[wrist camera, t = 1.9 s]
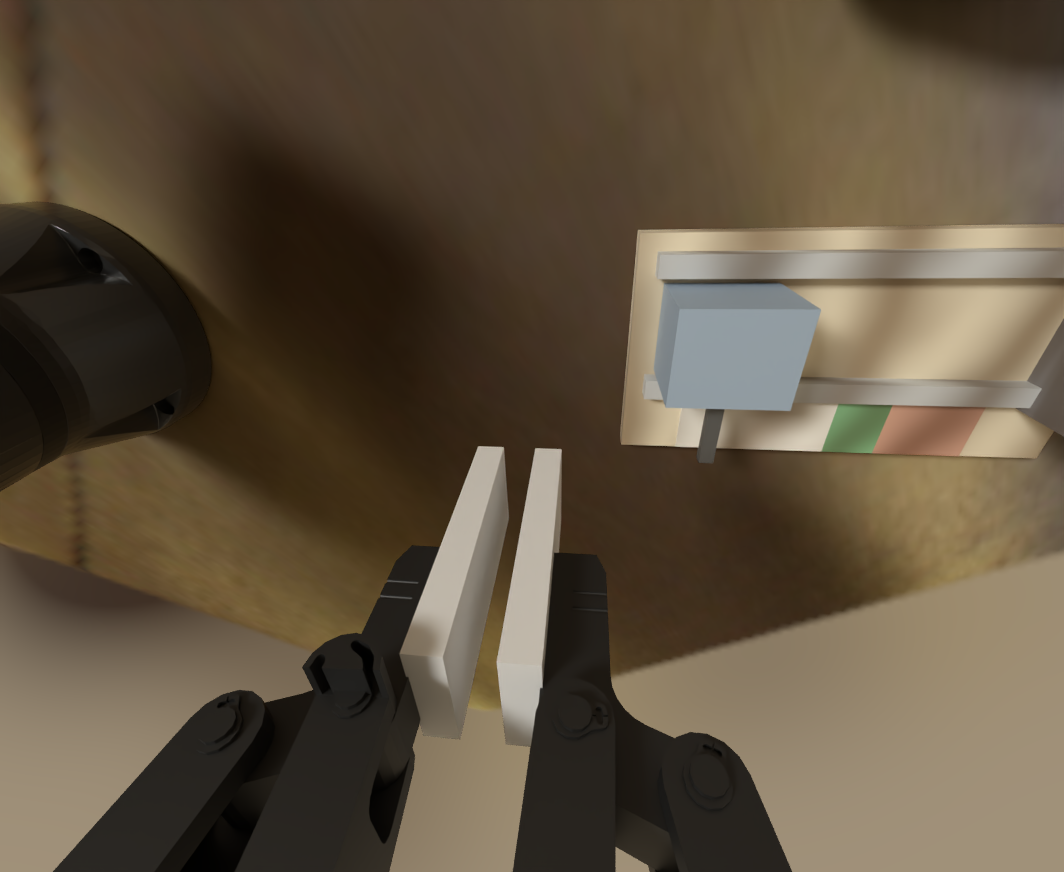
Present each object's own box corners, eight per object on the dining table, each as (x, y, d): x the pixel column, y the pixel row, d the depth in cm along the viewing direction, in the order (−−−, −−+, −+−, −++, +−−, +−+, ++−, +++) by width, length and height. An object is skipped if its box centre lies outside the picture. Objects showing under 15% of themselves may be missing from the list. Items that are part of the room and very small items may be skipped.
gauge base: (620, 435, 31) (627, 502, 25) (637, 229, 25) (654, 253, 18) (1020, 447, 29) (1136, 525, 23) (1163, 222, 22) (1383, 247, 16)
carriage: (646, 430, 29) (655, 476, 25) (663, 283, 25) (679, 309, 20) (742, 433, 29) (769, 480, 25) (779, 282, 24) (821, 309, 20)
